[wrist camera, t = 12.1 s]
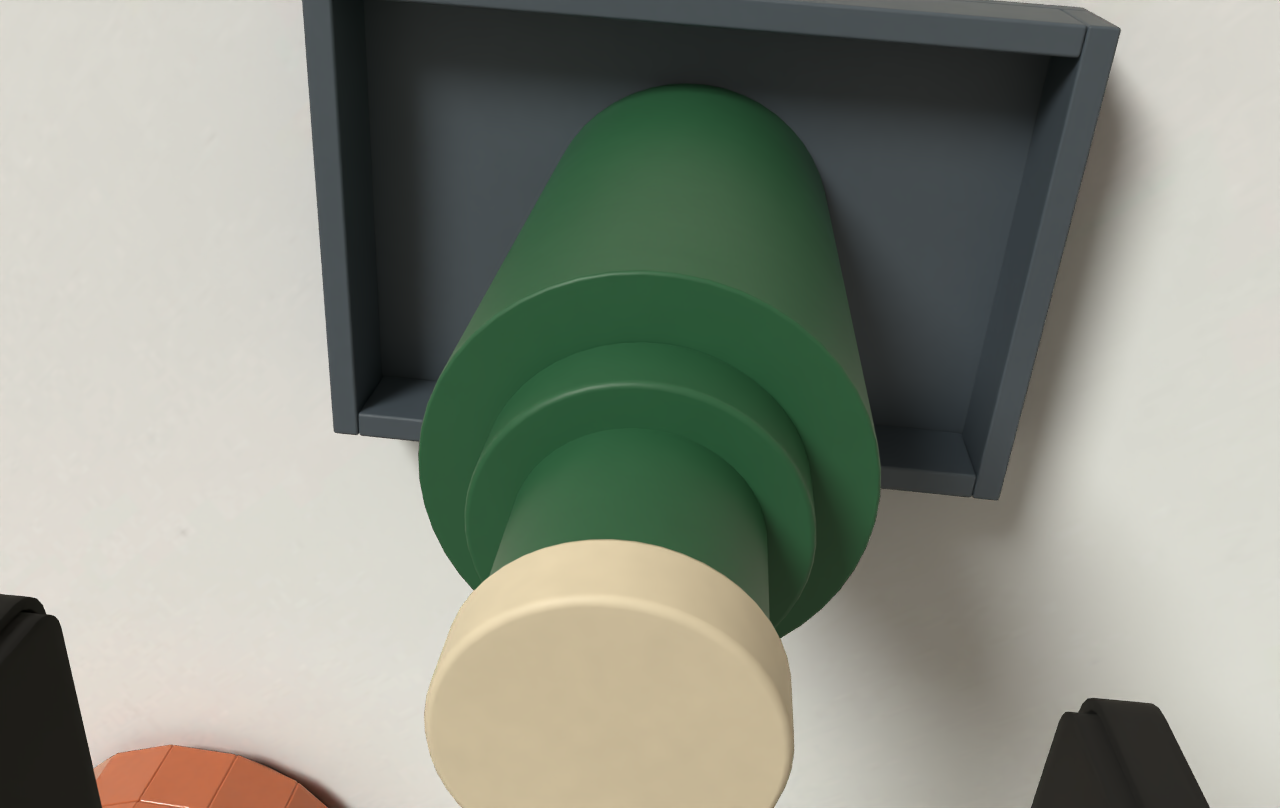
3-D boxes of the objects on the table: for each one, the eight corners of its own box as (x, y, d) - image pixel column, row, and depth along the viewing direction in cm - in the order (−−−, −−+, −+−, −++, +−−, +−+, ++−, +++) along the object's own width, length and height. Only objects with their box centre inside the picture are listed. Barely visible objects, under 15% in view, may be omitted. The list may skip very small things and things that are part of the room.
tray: (366, 385, 28) (333, 433, 25) (341, -53, 23) (297, -41, 21) (978, 446, 27) (999, 501, 25) (1085, 7, 22) (1122, 27, 20)
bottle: (490, 197, 25) (159, 681, 11) (715, 20, 22) (664, 338, 9) (660, 399, 27) (566, 1027, 13) (882, 253, 24) (1060, 819, 11)
